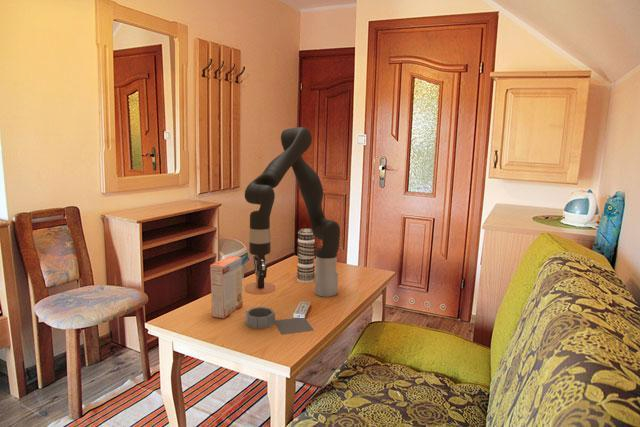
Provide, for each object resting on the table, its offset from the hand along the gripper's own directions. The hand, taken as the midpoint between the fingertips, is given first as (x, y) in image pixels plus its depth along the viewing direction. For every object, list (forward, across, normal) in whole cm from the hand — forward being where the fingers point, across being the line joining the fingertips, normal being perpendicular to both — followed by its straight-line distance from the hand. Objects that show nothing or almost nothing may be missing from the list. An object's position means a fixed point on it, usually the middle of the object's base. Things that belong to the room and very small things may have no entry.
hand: (260, 286), depth 157 cm
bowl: (+15, 0, 0) cm, 15 cm away
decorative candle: (+15, +43, -31) cm, 55 cm away
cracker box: (+15, +15, +10) cm, 23 cm away
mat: (+15, -6, -11) cm, 19 cm away
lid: (+1, 0, 0) cm, 1 cm away
